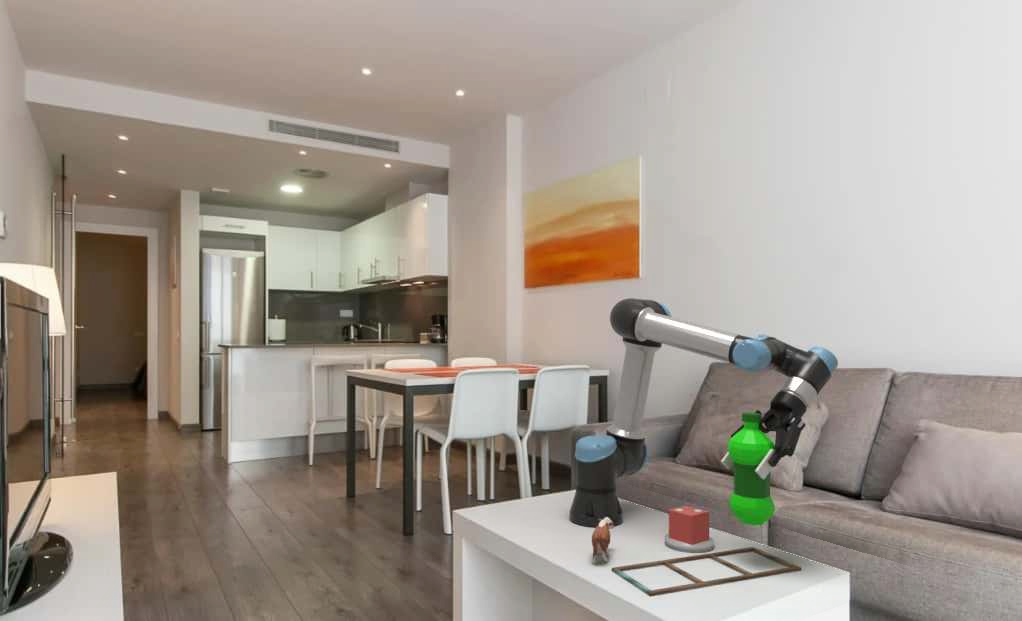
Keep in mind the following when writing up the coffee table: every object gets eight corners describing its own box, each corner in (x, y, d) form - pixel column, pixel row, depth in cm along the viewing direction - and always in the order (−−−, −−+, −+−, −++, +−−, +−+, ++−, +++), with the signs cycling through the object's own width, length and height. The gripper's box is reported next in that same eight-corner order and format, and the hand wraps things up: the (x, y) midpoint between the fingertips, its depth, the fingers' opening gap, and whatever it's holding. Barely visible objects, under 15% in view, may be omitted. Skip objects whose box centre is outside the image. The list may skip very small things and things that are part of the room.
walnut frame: (611, 570, 138) (611, 567, 138) (752, 549, 153) (752, 546, 153) (650, 596, 124) (650, 593, 124) (801, 570, 139) (801, 567, 139)
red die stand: (654, 543, 157) (654, 508, 158) (684, 534, 164) (684, 501, 165) (694, 556, 148) (693, 519, 148) (724, 546, 155) (723, 511, 155)
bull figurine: (616, 549, 153) (616, 515, 153) (606, 568, 140) (606, 531, 140) (598, 547, 154) (598, 514, 154) (587, 565, 141) (587, 529, 142)
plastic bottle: (733, 527, 139) (733, 415, 140) (725, 514, 150) (725, 410, 151) (780, 530, 138) (779, 417, 139) (769, 516, 148) (768, 411, 149)
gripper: (841, 416, 140) (789, 492, 133) (765, 406, 161) (717, 470, 155) (824, 393, 138) (770, 469, 132) (749, 386, 159) (699, 450, 153)
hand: (741, 470), depth 143 cm, fingers closed on plastic bottle, 10 cm apart
